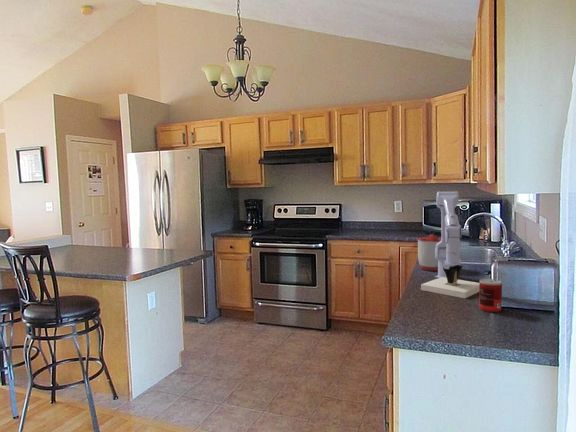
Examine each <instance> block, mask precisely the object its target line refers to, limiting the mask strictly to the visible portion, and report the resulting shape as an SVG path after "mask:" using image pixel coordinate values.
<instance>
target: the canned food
mask: <svg viewBox="0 0 576 432" xmlns="http://www.w3.org/2000/svg"><path fill="white" fill-rule="evenodd" d="M493 279H494V278H482V279H479V282H478V283H479V292H478V294H479V295H478V296H479V297H478V308H479V310H480V311H482V310H483V311H482V312H485V311H486V312H485V313H493V312H495V313H500V312H501V311H502V305H503V304H502V302H503V299H502V298H503V297H502V295H503V291H502V290H503V282H502V281H501V280H499V281H495V280H496V279H495V280H493ZM499 311H500V312H499Z"/></svg>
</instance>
